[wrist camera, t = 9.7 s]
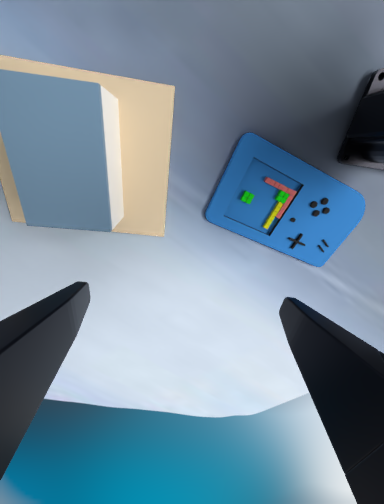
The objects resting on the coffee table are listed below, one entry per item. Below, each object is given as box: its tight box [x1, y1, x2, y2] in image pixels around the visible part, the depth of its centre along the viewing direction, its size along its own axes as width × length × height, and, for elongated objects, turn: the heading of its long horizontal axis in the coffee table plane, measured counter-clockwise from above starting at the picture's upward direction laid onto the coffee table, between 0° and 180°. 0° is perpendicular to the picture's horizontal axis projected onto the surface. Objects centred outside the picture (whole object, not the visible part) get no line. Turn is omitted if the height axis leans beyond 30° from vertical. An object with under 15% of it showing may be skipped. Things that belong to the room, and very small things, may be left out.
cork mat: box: [0, 55, 175, 237], centre depth 17 cm, size 14×12×1 cm
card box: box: [0, 69, 124, 232], centre depth 15 cm, size 9×6×4 cm, turn 174°
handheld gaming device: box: [205, 133, 365, 267], centre depth 20 cm, size 8×1×15 cm
